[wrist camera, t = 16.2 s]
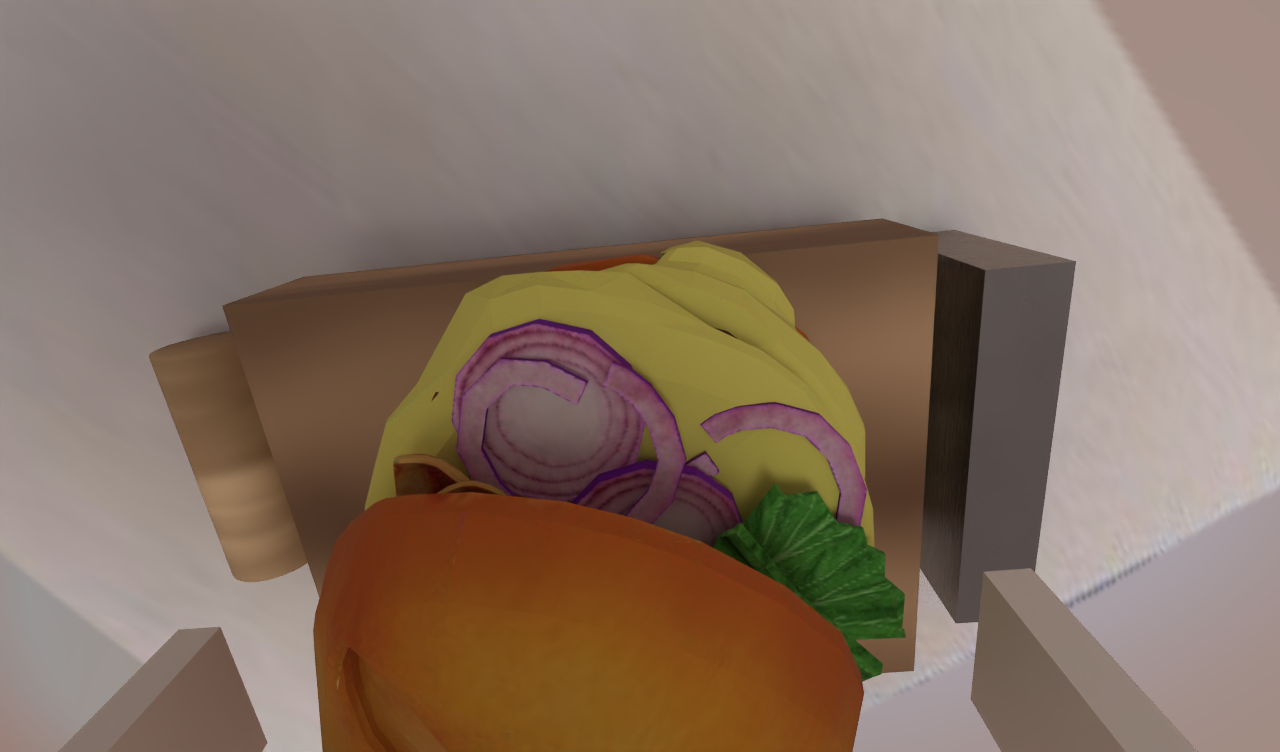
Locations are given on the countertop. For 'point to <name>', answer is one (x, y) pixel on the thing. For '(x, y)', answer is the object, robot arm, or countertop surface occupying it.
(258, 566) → the cylinder
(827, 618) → the cheeseburger
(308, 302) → the board
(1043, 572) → the countertop surface
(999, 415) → the stop rail
